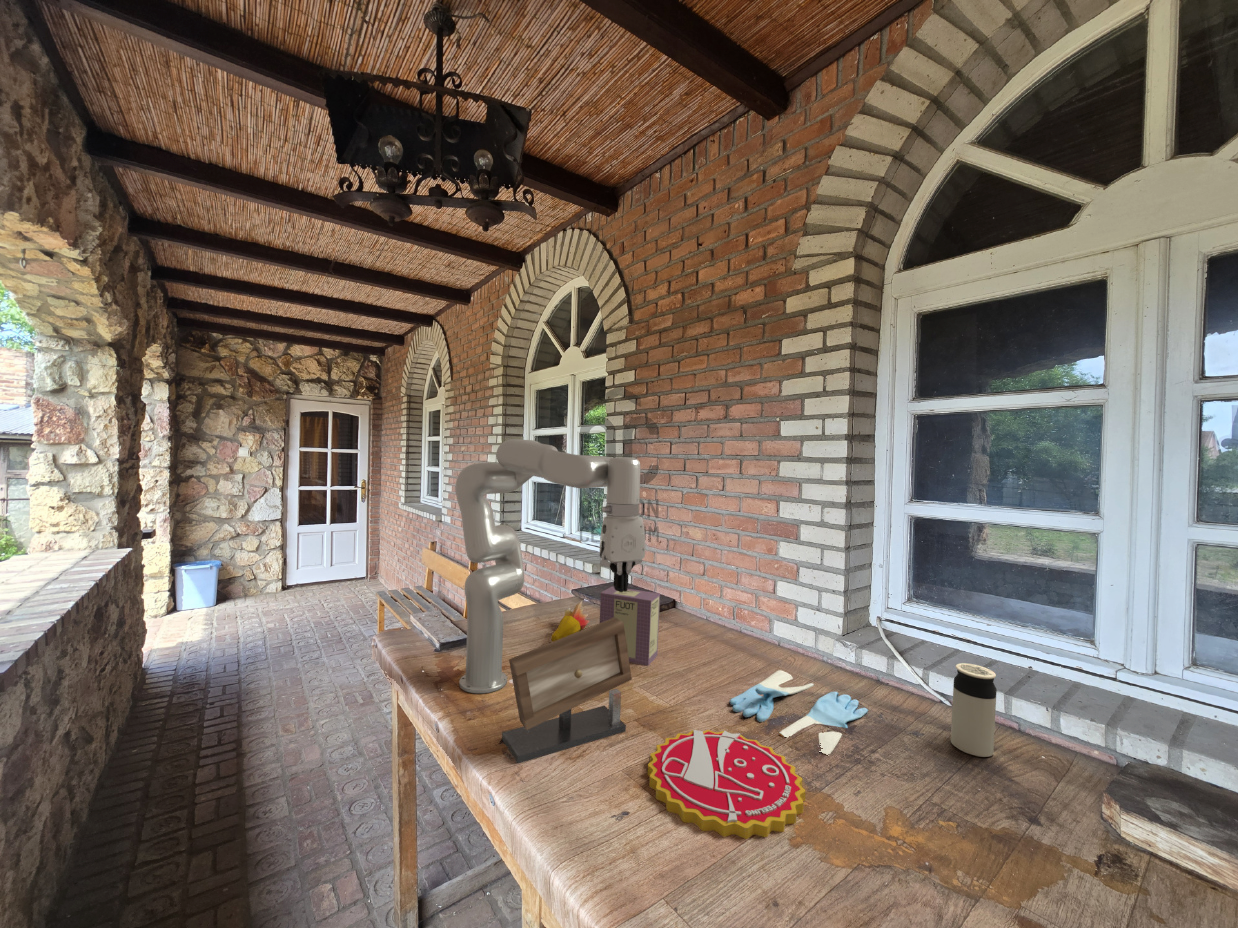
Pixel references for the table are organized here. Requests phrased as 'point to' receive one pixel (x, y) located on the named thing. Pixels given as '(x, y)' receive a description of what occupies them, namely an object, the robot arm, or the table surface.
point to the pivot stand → (566, 731)
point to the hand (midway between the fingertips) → (620, 590)
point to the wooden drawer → (570, 671)
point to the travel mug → (973, 710)
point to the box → (634, 620)
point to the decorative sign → (726, 783)
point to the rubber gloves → (823, 712)
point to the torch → (570, 623)
